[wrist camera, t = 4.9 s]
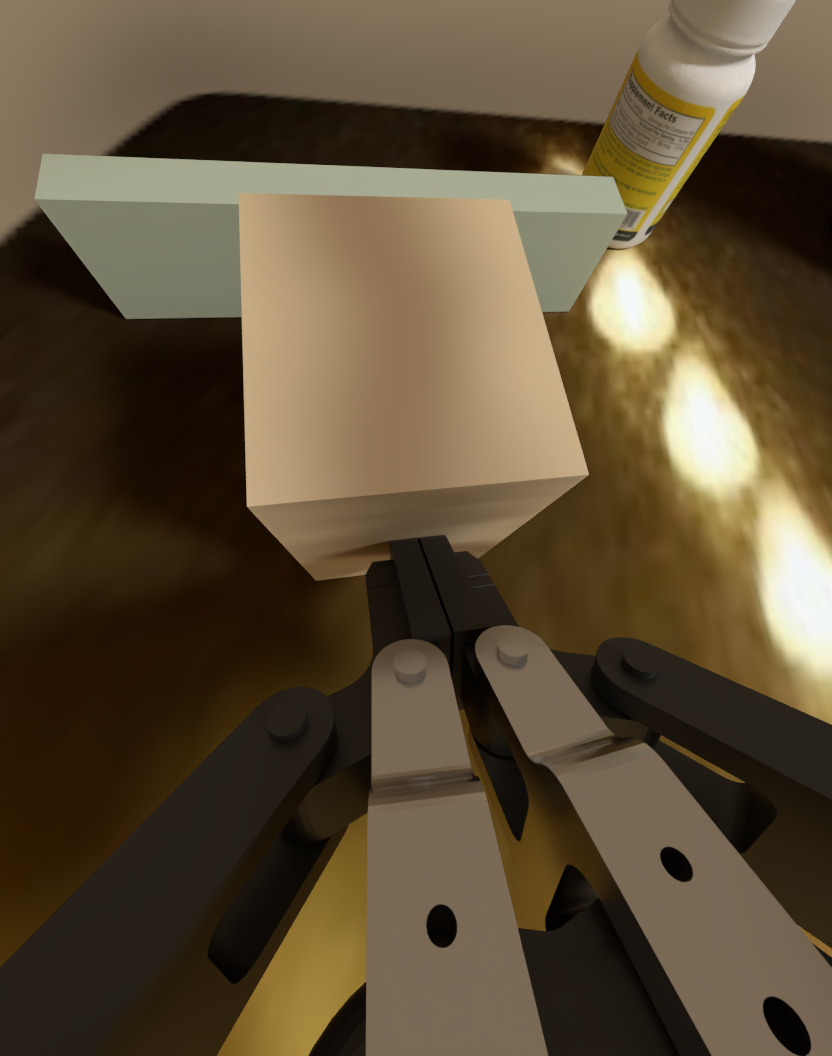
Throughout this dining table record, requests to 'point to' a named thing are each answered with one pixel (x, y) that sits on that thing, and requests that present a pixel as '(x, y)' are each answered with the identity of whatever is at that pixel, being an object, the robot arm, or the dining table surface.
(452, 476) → the birch block
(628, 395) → the dining table surface
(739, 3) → the supplement bottle
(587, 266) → the sage fence board
